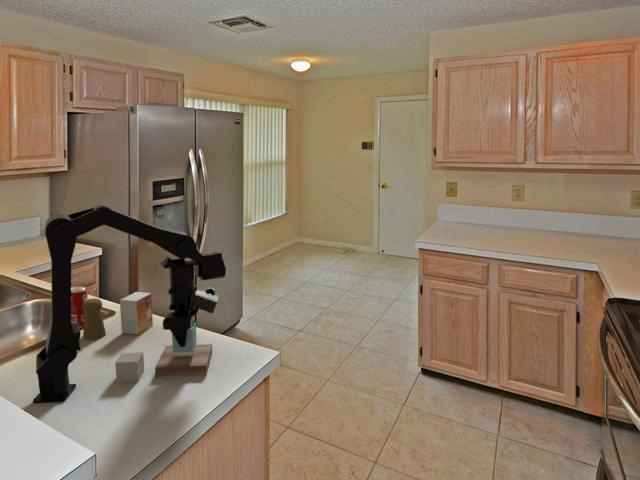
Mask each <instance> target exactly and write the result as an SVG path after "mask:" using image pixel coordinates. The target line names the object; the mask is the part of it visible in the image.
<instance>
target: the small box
mask: <svg viewBox="0 0 640 480" xmlns="http://www.w3.org/2000/svg"><path fill="white" fill-rule="evenodd" d="M119 310H120V311H119V312H120V326H121V333H122V334H128V335H140V334H141V333H144V331H146V330H147V329H149V328H151V327H152V326H154V324H153V323H154V322H153V321H154V320H153V298H152V293H150V292H141V291H135V292H132V294H129V295H127V296H125V297H123V298H121V299H119Z"/></svg>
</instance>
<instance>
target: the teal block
mask: <svg viewBox="0 0 640 480" xmlns="http://www.w3.org/2000/svg"><path fill="white" fill-rule="evenodd" d="M171 340H172V343H171V346H173V353H177V352H194V349H195V346H196V345H197V322H196V321H194V322H193V325H192V326H191V328H190V329H188V331H187V337H186V343H185V347H180V346H179V344H178V342H177V340H176V339H175V337H174V335H173V334H172V333H171Z"/></svg>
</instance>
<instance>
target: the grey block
mask: <svg viewBox="0 0 640 480" xmlns="http://www.w3.org/2000/svg"><path fill="white" fill-rule="evenodd" d="M114 364H115V376H116V383H123V382H125V383H126V382H127V383H128V382H140V380H141V378H142V377H143V374H144V372H145V359H144V352H143V351H142V352H140V351H139V352H137V351H136V352H121V353H120V355H119V356H118V358H117V359H116V361H115V363H114Z"/></svg>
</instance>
